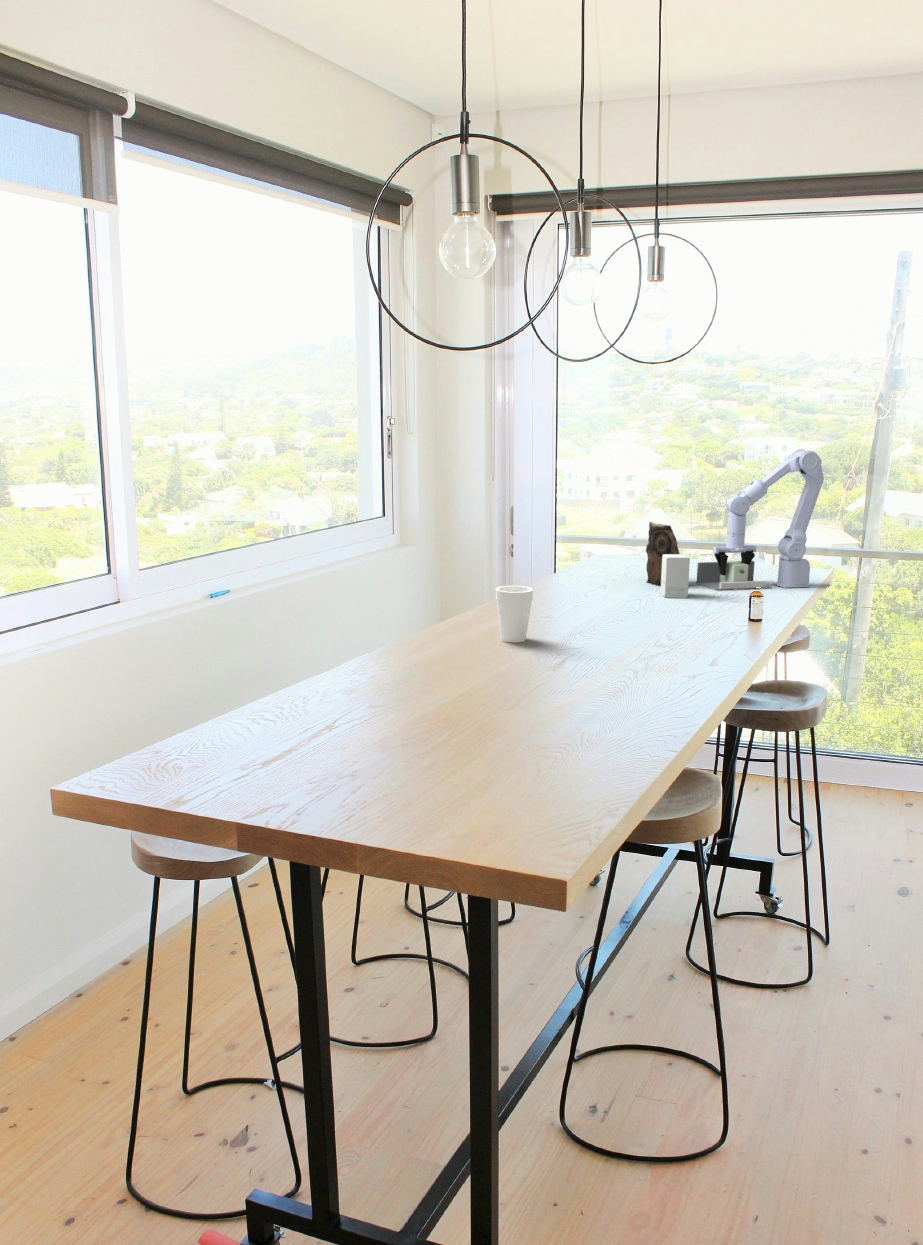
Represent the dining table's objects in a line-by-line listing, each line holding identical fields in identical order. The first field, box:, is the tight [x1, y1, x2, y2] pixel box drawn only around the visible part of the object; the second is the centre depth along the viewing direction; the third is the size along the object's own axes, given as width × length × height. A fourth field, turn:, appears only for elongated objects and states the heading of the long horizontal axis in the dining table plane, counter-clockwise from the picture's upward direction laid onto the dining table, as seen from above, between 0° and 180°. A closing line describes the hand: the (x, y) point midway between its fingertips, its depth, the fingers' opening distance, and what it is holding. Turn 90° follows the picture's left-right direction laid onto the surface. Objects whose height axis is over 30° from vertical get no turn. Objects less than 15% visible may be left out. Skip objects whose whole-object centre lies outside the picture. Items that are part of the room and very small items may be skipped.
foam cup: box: [495, 585, 534, 643], centre depth 257 cm, size 10×9×13 cm
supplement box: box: [659, 553, 691, 599], centre depth 315 cm, size 7×7×13 cm
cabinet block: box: [720, 560, 748, 582], centre depth 334 cm, size 5×10×7 cm, turn 14°
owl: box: [645, 521, 680, 587], centre depth 335 cm, size 13×13×20 cm
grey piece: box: [696, 560, 772, 591], centre depth 334 cm, size 20×13×7 cm, turn 104°
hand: (733, 574), depth 334 cm, fingers open, 7 cm apart
